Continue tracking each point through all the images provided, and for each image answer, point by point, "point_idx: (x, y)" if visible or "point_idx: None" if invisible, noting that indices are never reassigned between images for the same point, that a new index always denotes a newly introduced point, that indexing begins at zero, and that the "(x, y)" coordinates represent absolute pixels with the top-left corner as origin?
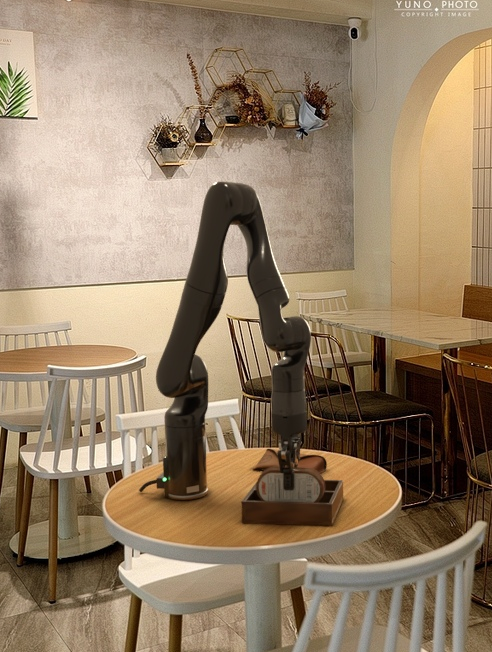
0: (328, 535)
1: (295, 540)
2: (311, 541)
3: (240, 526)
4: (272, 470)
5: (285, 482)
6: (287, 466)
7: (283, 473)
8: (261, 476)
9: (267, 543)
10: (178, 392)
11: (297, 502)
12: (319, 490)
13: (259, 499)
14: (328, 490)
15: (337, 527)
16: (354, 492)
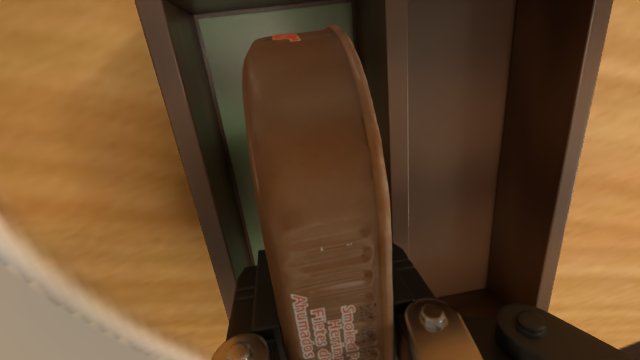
0: (177, 347)
1: (88, 280)
2: (105, 325)
3: (130, 8)
4: (268, 238)
5: (234, 302)
6: (404, 325)
7: (254, 331)
8: (243, 103)
9: (4, 203)
10: None
11: (229, 292)
12: None
13: (367, 22)
14: (507, 273)
15: None
16: (557, 292)
